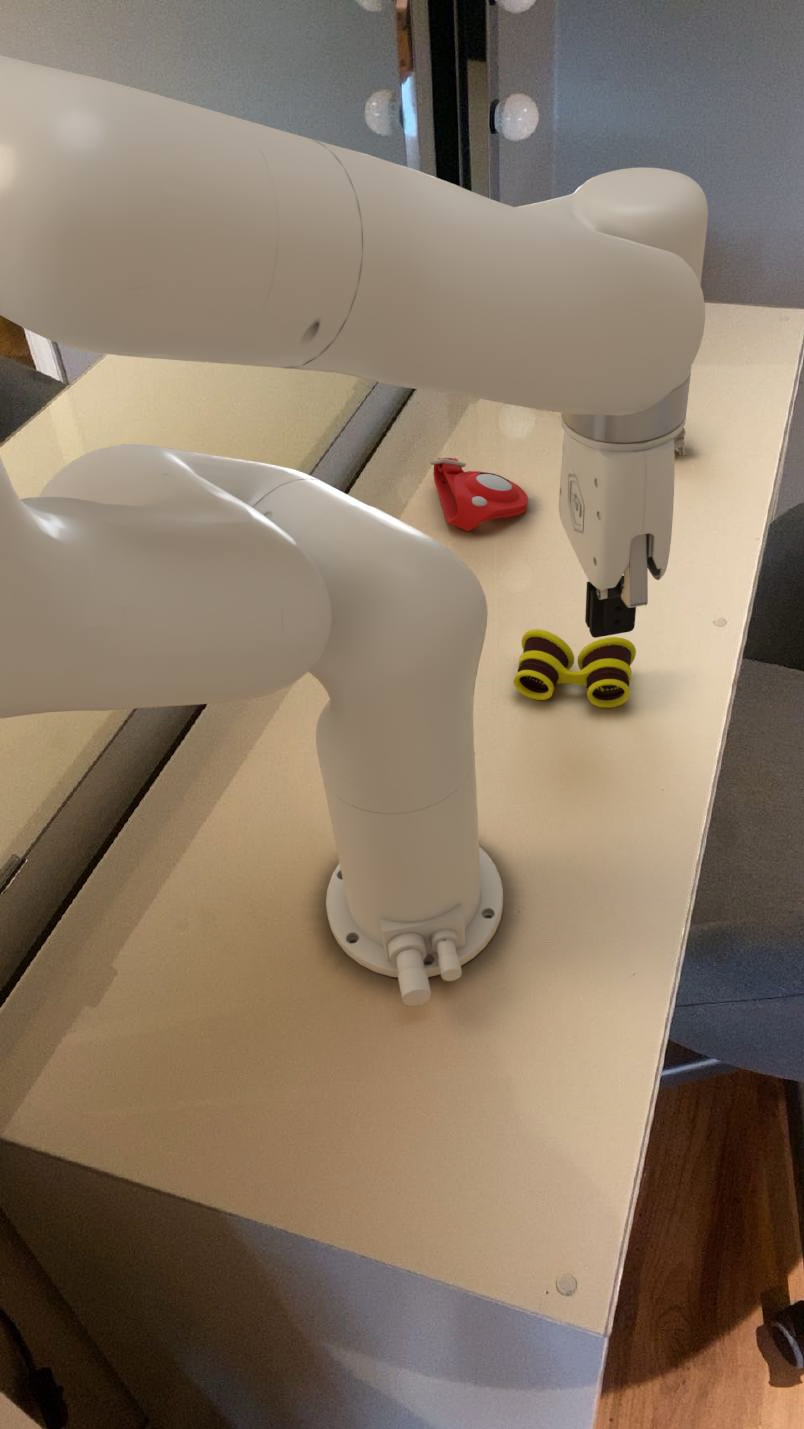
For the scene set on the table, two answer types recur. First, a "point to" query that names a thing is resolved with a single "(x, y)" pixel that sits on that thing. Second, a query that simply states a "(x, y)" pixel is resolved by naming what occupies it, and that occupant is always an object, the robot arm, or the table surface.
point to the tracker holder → (475, 494)
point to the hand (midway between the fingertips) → (609, 627)
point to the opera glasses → (599, 671)
